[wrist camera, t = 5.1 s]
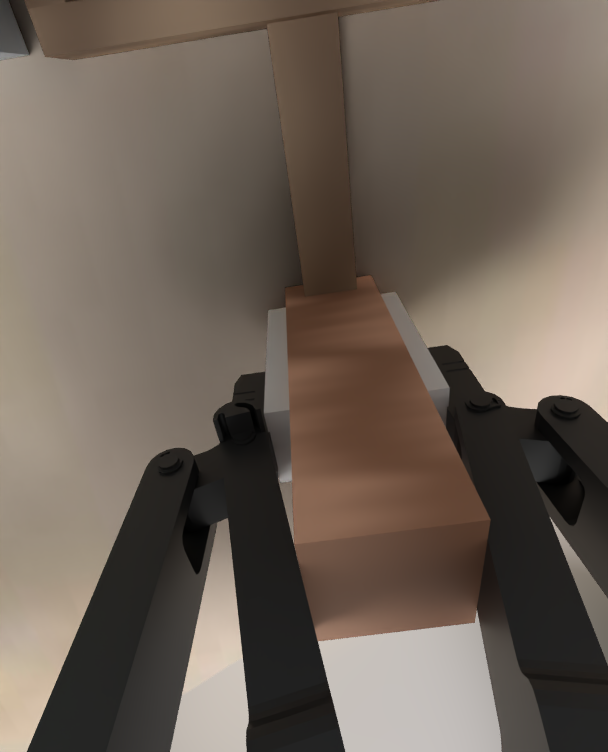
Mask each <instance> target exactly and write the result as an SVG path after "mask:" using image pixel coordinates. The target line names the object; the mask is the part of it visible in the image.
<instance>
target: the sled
mask: <svg viewBox="0 0 608 752" xmlns="http://www.w3.org/2000/svg"><path fill="white" fill-rule="evenodd" d="M24 1H25V4H26V7H27V10H28V12H29V15H30V18H31V20H32V23H33V26H34V28H35V31H36V34H37V37H38V39H39V42H40V45H41V47H42V50H43V53H44V55H45V57H52V58H61V59H69V60H77V59H83V58H89V57H95V56H101V55H107V54H114V53H120V52H126V51H132V50H138V49H144V48H150V47H156V46H163V45H169V44H175V43H181V42H187V41H193V40H199V39H206V38H212V37H218V36H224V35H230V34H236V33H242V32H249V31H255V30H261V29H267V31H268V38H269V45H270V52H271V59H272V66H273V73H274V80H275V88H276V95H277V102H278V109H279V116H280V123H281V130H282V137H283V144H284V152H285V159H286V166H287V173H288V180H289V187H290V194H291V201H292V208H293V215H294V223H295V230H296V237H297V244H298V251H299V258H300V265H301V272H302V279H303V285H299V286H292V287H285V300H286V327H287V355H288V383H289V410H290V438H291V465H292V493H293V521H294V545H295V549H296V554H297V558H298V562H299V567H300V571H301V575H302V580H303V584H304V588H305V592H306V596H307V600H308V604H309V608H310V612H311V616H312V620H313V624H314V628H315V632H316V636H317V640H318V641H324V640H333V639H341V638H349V637H358V636H366V635H374V634H383V633H391V632H400V631H407V630H417V629H425V628H433V627H442V626H450V625H459V624H467V623H475V617H476V611H477V604H478V598H479V591H480V585H481V578H482V572H483V566H484V559H485V553H486V546H487V540H488V533H489V527H490V521H491V520H490V517H489V515H488V513H487V511H486V509H485V507H484V505H483V503H482V501H481V499H480V497H479V495H478V493H477V491H476V489H475V487H474V485H473V483H472V481H471V479H470V477H469V474H468V472H467V470H466V468H465V466H464V464H463V462H462V460H461V458H460V456H459V454H458V452H457V450H456V448H455V446H454V444H453V442H452V440H451V438H450V436H449V434H448V431H447V429H446V427H445V425H444V423H443V421H442V419H441V417H440V415H439V413H438V411H437V409H436V407H435V405H434V403H433V401H432V399H431V397H430V395H429V393H428V391H427V388H426V386H425V384H424V382H423V380H422V378H421V376H420V374H419V372H418V370H417V368H416V366H415V364H414V362H413V360H412V358H411V356H410V354H409V352H408V350H407V347H406V345H405V343H404V341H403V339H402V337H401V335H400V333H399V331H398V329H397V327H396V325H395V323H394V321H393V319H392V317H391V315H390V313H389V311H388V309H387V307H386V304H385V302H384V300H383V298H382V296H381V294H380V292H379V290H378V288H377V286H376V284H375V282H374V280H373V278H372V276H371V275H369V276H362V277H356V267H355V253H354V238H353V224H352V210H351V195H350V181H349V167H348V152H347V138H346V124H345V110H344V95H343V81H342V67H341V52H340V38H339V24H338V17H341V16H347V15H353V14H359V13H365V12H371V11H377V10H384V9H390V8H396V7H402V6H408V5H414V4H420V3H426V2H433V1H439V0H24Z"/></svg>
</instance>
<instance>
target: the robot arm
mask: <svg viewBox="0 0 608 752" xmlns="http://www.w3.org/2000/svg"><path fill="white" fill-rule="evenodd" d="M381 296H382V298H383V300H384V302H385V304H386V307H387V309H388V311H389V313H390V315H391V317H392V319H393V321H394V323H395V325H396V327H397V329H398V331H399V333H400V335H401V337H402V339H403V341H404V343H405V345H406V347H407V350H408V352H409V354H410V356H411V358H412V360H413V362H414V364H415V366H416V368H417V370H418V372H419V374H420V376H421V378H422V380H423V382H424V384H425V386H426V388H427V391H428V393H429V395H430V397H431V399H432V401H433V403H434V405H435V407H436V409H437V411H438V413H439V415H440V417H441V419H442V421H443V423H444V425H445V427H446V429H447V431H448V434H449V436H450V438H451V440H452V442H453V444H454V446H455V448H456V450H457V452H458V454H459V456H460V458H461V460H462V462H463V464H464V466H465V468H466V470H467V472H468V474H469V477H470V479H471V481H472V483H473V485H474V487H475V489H476V491H477V493H478V495H479V497H480V499H481V501H482V503H483V505H484V507H485V509H486V511H487V513H488V515H489V517H490V520H491V521H490V527H489V533H488V540H487V546H486V553H485V559H484V566H483V572H482V578H481V585H480V591H479V598H478V604H477V611H478V617H479V622H480V627H481V632H482V637H483V642H484V648H485V653H486V658H487V664H488V669H489V674H490V679H491V684H492V690H493V695H494V700H495V705H496V711H497V716H498V721H499V727H500V733H501V744H502V752H608V665H607V663H606V660H605V657H604V654H603V652H602V649H601V647H600V645H599V642H598V639H597V637H596V634H595V632H594V629H593V627H592V624H591V621H590V619H589V616H588V614H587V611H586V609H585V606H584V604H583V601H582V598H581V596H580V593H579V591H578V588H577V586H576V583H575V581H574V578H573V575H572V573H571V570H570V568H569V565H568V563H567V561H566V558H565V555H564V553H563V550H562V548H561V545H560V542H559V540H558V537H557V535H556V532H555V530H554V527H553V525H552V522H551V519H552V520H553V522H554V523H555V524H556V526H557V527H558V529H559V530H560V531H561V533H562V534H563V536H564V537H565V539H566V540H567V541H568V543H569V544H570V546H571V547H572V549H573V550H574V551H575V552H576V554H577V556H578V557H579V558H580V560H581V561H582V563H583V564H584V565H585V567H586V568H587V569H588V571H589V572H590V574H591V575H592V577H593V578H594V579H595V581H596V582H597V584H598V585H599V586H600V588H601V589H602V591H603V592H604V594H605V595H606V596H607V598H608V422H606V421H605V420H604V419H603V418H602V417H601V416H600V415H599V414H598V413H597V412H596V411H595V410H593V409H592V408H591V407H590V406H589V405H587V404H586V403H584V402H583V401H581V400H578V399H576V398H573V397H568V396H562V395H559V396H549V397H546V398H543V399H542V400H541V401H540V402H539V403H538V407H537V409H524V408H514V407H508V406H506V405H505V403H504V402H503V400H502V399H501V398H500V397H498V396H496V395H495V394H492V393H489V392H486V391H484V389H483V388H482V386H481V385H480V383H479V382H478V380H477V379H476V377H475V376H474V374H473V373H472V371H471V370H470V369H469V367H468V365H467V364H466V362H464V359H463V358H462V356H461V355H460V354H459V352H458V351H456V350H454V349H453V348H451V347H449V346H448V345H445V346H438V347H431V348H427V347H426V345H425V343H424V341H423V340H422V338H421V336H420V334H419V332H418V331H417V329H416V327H415V325H414V324H413V322H412V320H411V318H410V317H409V315H408V313H407V311H406V309H405V308H404V306H403V304H402V302H401V301H400V299H399V297H398V295H397V294H396V292H390V293H383V294H381ZM233 395H234V396H233V400H232V402H230V403H227V404H225V405H224V406H222V407H221V408H219V409H218V410H217V412H216V413H215V414H214V418H213V422H214V425H215V428H216V432H217V435H218V438H219V441H220V444H219V445H217V446H216V447H214V448H212V449H210V450H208V451H206V452H203V453H200V454H198V455H195V456H193V454H192V453H191V451H189V450H187V449H185V448H174V449H169V450H166V451H164V452H162V453H160V454H158V455H157V456H156V457H154V458H153V459H152V460H151V461H150V463H149V464H148V466H147V467H146V470H145V472H144V474H143V477H142V479H141V481H140V484H139V486H138V489H137V491H136V493H135V496H134V498H133V500H132V503H131V505H130V508H129V510H128V512H127V515H126V517H125V520H124V522H123V524H122V527H121V529H120V531H119V534H118V536H117V539H116V541H115V543H114V546H113V548H112V550H111V553H110V555H109V558H108V560H107V562H106V565H105V567H104V569H103V572H102V574H101V577H100V579H99V581H98V584H97V586H96V589H95V591H94V593H93V596H92V598H91V600H90V603H89V605H88V608H87V610H86V612H85V615H84V617H83V619H82V622H81V624H80V627H79V629H78V631H77V634H76V636H75V638H74V641H73V643H72V646H71V648H70V650H69V653H68V655H67V657H66V660H65V662H64V665H63V667H62V669H61V672H60V674H59V677H58V679H57V681H56V684H55V686H54V688H53V691H52V693H51V696H50V698H49V700H48V703H47V705H46V707H45V710H44V712H43V715H42V717H41V719H40V722H39V724H38V726H37V729H36V731H35V734H34V736H33V738H32V741H31V743H30V746H29V748H28V750H27V752H170V749H171V744H172V739H173V734H174V729H175V724H176V720H177V715H178V710H179V705H180V700H181V696H182V691H183V686H184V681H185V676H186V672H187V667H188V662H189V657H190V652H191V648H192V643H193V638H194V633H195V628H196V624H197V619H198V614H199V609H200V604H201V600H202V595H203V590H204V585H205V580H206V576H207V571H208V566H209V561H210V556H211V551H212V547H213V542H214V537H215V532H216V527H217V522H219V521H221V520H224V519H226V518H228V522H229V531H230V540H231V550H232V559H233V569H234V578H235V587H236V597H237V606H238V616H239V625H240V634H241V644H242V653H243V662H244V671H245V682H246V691H247V700H248V709H249V710H248V711H249V724H248V727H247V731H246V746H247V752H345V749H344V745H343V741H342V737H341V733H340V728H339V724H338V720H337V717H336V713H335V709H334V704H333V701H332V697H331V693H330V689H329V685H328V681H327V677H326V673H325V669H324V665H323V661H322V657H321V653H320V649H319V645H318V640H317V636H316V632H315V628H314V624H313V620H312V616H311V612H310V608H309V604H308V600H307V596H306V592H305V588H304V584H303V580H302V576H301V572H300V568H299V564H298V560H297V556H296V551H295V547H294V543H293V539H292V535H291V531H290V527H289V523H288V519H287V515H286V511H285V507H284V503H283V499H282V495H281V491H280V487H279V483H278V476H279V480H280V483H283V482H290V481H292V465H291V438H290V410H289V383H288V355H287V327H286V308H280V309H273V310H268V324H267V348H266V372H260V373H253V374H246V375H241V377H240V378H239V379H238V381H237V382H236V383H235V386H234V393H233ZM549 516H550V517H551V519H550V517H549Z"/></svg>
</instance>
